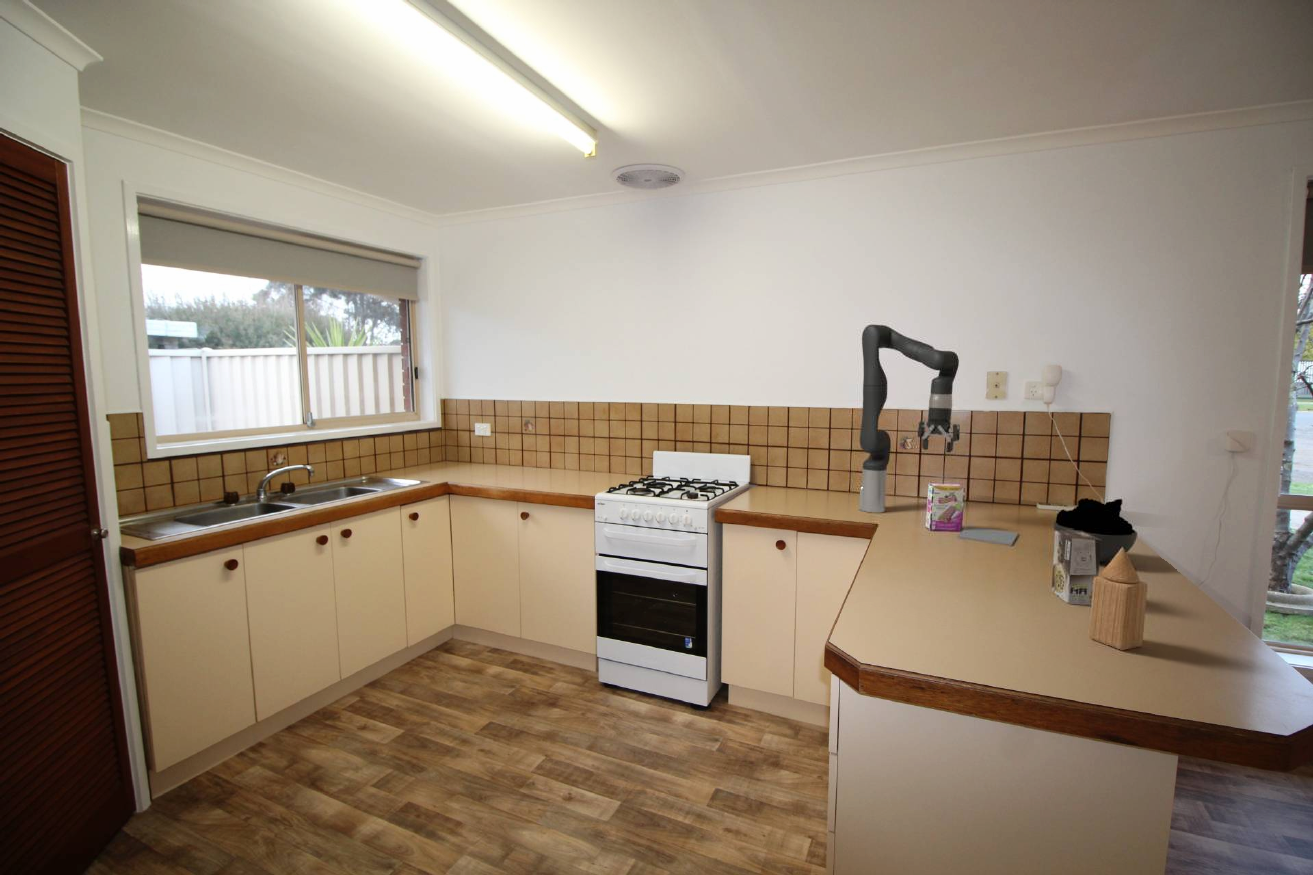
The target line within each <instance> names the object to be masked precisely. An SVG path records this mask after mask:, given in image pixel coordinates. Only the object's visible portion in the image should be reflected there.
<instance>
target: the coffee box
mask: <svg viewBox="0 0 1313 875" xmlns="http://www.w3.org/2000/svg"><path fill="white" fill-rule="evenodd" d="M1053 545H1054V546H1053V557H1052V558H1053V560H1052V561H1053V562H1052V574H1051V575H1052V578H1051V580H1052V581H1051V592H1052V591H1053V592H1054V593H1055V594H1054V593H1053V592H1052V593H1053V594H1054V595H1056V596H1057V595H1058V596H1059V598H1060V599H1062V600H1063V601H1064V602H1065V603H1067V604H1069V605H1070V604H1071V605H1082V606H1092V593H1093V580H1094V578H1095V577H1098V576H1099V572H1100V563H1101V562H1100V549H1101V539H1099V538H1096V537H1094V536H1092V535H1090V534H1088V533H1086V532H1083V531H1075V530H1055V531H1054V544H1053ZM1058 596H1057V597H1058Z"/></svg>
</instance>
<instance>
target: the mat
mask: <svg viewBox="0 0 1313 875" xmlns="http://www.w3.org/2000/svg"><path fill="white" fill-rule="evenodd" d="M1018 536H1019V532H1016V531H1008V530H1000V529H993V528H985V527H978V526H972V525H971V526H970V525H966V526H965V528H964V529H962V531H960V533H958V534H957V535H956V538H958V539H963V540H968V541H969V540H971V541H977V542H984V543H991V544H997V545H1003V546H1011V547H1012V546H1013V544H1014V542H1015V540H1016V539H1017V538H1018Z"/></svg>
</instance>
